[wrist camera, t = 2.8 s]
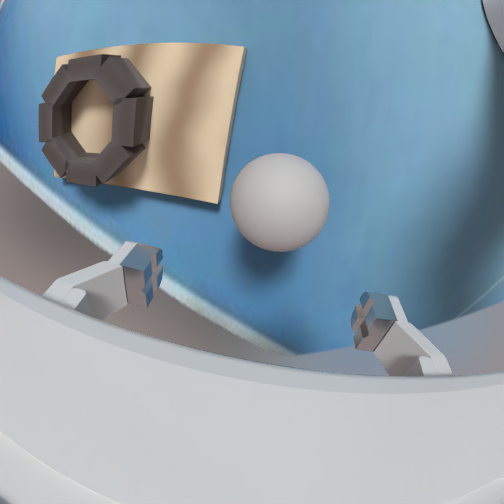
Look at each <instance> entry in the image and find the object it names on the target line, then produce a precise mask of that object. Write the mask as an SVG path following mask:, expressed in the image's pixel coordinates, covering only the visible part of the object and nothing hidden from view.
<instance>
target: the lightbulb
mask: <svg viewBox="0 0 504 504" xmlns="http://www.w3.org/2000/svg"><path fill="white" fill-rule="evenodd" d="M329 206H330V199H329V192H328V189H327V185H326V183H325V181H324V179H323V177H322V175H321V174H320V173H319V172H318V170H317V169H316V168H315V167H314V166H313V165H311V164H310V163H309V162H308V161H306V160H304V159H302V158H300V157H298V156H294V155H291V154H285V153H274V154H267V155H264V156H261V157H258V158H257V159H255V160H253V161H251V162H250V163H249V164H247V165H246V166H245V167H244V168H243V169H242V171H241V172H240V173H239V175H238V176H237V178H236V180H235V182H234V184H233V186H232V190H231V195H230V208H231V213H232V217H233V219H234V222H235V224H236V226H237V228H238V230H239V231H240V232H241V234H242V235H243V236H244V237H245V238H246V239H247V240H248V241H250V242H251V243H253V244H254V245H256V246H258V247H260V248H262V249H266V250H270V251H277V252H284V251H291V250H295V249H298V248H301V247H303V246H305V245H306V244H308V243H309V242H311V241H312V240H313V239H314V238H315V237H316V236H317V235H318V234H319V232H320V231H321V229H322V228H323V226H324V225H325V222H326V220H327V217H328V212H329Z"/></svg>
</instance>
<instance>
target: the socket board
mask: <svg viewBox="0 0 504 504" xmlns="http://www.w3.org/2000/svg"><path fill="white" fill-rule="evenodd" d="M246 52H247V49H246V48H245V47H242V46H232V45H221V44H206V43H151V44H136V45H125V46H116V47H108V48H101V49H95V50H89V51H83V52H78V53H73V54H69V55H64V56H60V57H57V59H56V67H55V75H54V77H53V78H52V80H51V81H50V83H49V84H48V86H47V88H46V89H45V91H44V92H43V94H42V98H43V99H44V101H45V103H42V104H39V142H46V143H45V145H44V146H43V148H42V152H43V153H44V155H45V156H46V158H47V159H48V161H49V162H50V164H51V165H52V166H53V168H54V176H55V177H60V178H66V182H70V183H76V184H83V185H90V186H98V185H99V184H101V183H103V184H109V185H116V186H122V187H128V188H134V189H140V190H146V191H152V192H158V193H163V194H169V195H174V196H180V197H185V198H190V199H195V200H201V201H206V202H211V203H216V204H218V203H219V201H220V199H221V197H222V190H223V184H224V177H225V170H226V164H227V157H228V151H229V145H230V139H231V133H232V127H233V121H234V115H235V110H236V104H237V98H238V93H239V88H240V82H241V77H242V72H243V67H244V62H245V57H246Z"/></svg>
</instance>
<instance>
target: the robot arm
mask: <svg viewBox="0 0 504 504" xmlns="http://www.w3.org/2000/svg"><path fill="white" fill-rule="evenodd" d="M483 5H484V9H485V13H486V16H487V19H488V21H489V24H490V27H491V29H492V31H493V33H494V36H495V38H496V40H497V42H498V44H499V46H500V47H501V49H502V51H503V53H504V0H483ZM162 258H163V256H162V250H161V249H159V248H155V247H151V246H147V245H143V244H140V243H139V244H138V243H135V242H131V241H126V242H125V243H124V244H123V245H122V246H121V247H120V248H119V249H118V251H117V252H116V253H115V254H114V255H113V256H112V257H111V258H110V260H109V261H108V262H106V261H103V262H101V263H98V264H95V265H93V266H90V267H87V268H85V269H82V270H80V271H77V272H74V273H72V274H70V275H67V276H64V277H62V278H59V279H57V280H56V281H55V282H54V283H53V284H52V285H51V287H50V288H49V289H48V290H47V291H46V292H45V293H44V294H43V295H42V296H40V295H38V294H36V293H33V292H31V291H29V290H27V289H25V288H23V287H21V286H19V285H17V284H15V283H13V282H11V281H9V280H7V279H5V278H3V277H1V276H0V504H504V372H495V373H485V374H473V375H458V376H453V375H452V372H451V369H450V367H449V364H448V362H447V359H446V356H444V355H443V354H442V353H441V352H440V351H439V350H438V349H437V348H436V347H435V346H434V345H433V344H432V343H431V342H430V341H429V340H428V339H427V338H426V337H425V336H424V335H423V334H422V333H421V332H420V331H419V330H418V329H417V328H416V327H414V326H413V325H412V324H411V323H408V321H407V319H406V316H405V314H404V311H403V309H402V306H401V304H400V302H399V299H398V298H397V297H396V296H390V295H382V294H376V293H371V292H364V293H363V294H362V296H361V297H360V302H361V304H359V305H358V306H356V307H355V309H354V311H353V313H352V317H351V328H352V330H353V331H354V332H355V335H354V337H353V338H354V343H355V348H356V349H357V350H364V351H372V352H374V354H375V356H376V357H377V358H378V360H379V361H380V363H381V364H382V365H383V367H384V368H385V370H386V371H387V373H388V374H389V375H390V376H376V375H359V374H346V373H335V372H325V371H316V370H309V369H301V368H294V367H287V366H280V365H274V364H268V363H262V362H257V361H251V360H246V359H240V358H235V357H231V356H226V355H221V354H217V353H212V352H208V351H204V350H199V349H195V348H191V347H187V346H183V345H180V344H176V343H172V342H169V341H165V340H161V339H158V338H154V337H151V336H148V335H144V334H141V333H138V332H135V331H132V330H128V329H125V328H122V327H119V326H116V325H113V324H110V323H108V322H105V321H102V320H103V319H105V318H107V317H108V316H110V315H111V314H113V313H114V312H116V311H118V310H119V309H121V308H122V307H124V306H126V305H127V303H129V304H132V305H136V306H140V307H144V308H147V307H148V306H149V304H150V302H151V300H152V298H153V292H154V291H156V290H157V289H158V288H159V286H160V283H161V280H162V274H163V267H162V266H161V264H160V262H161V260H162Z"/></svg>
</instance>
